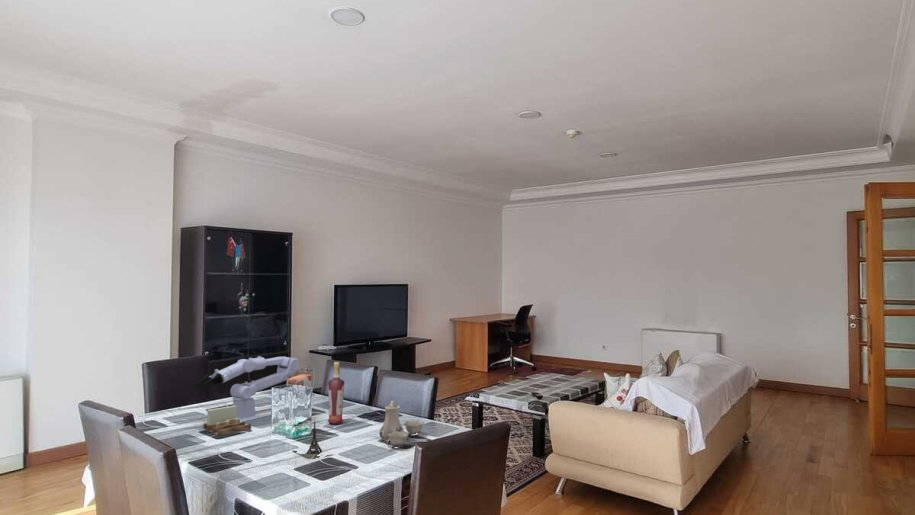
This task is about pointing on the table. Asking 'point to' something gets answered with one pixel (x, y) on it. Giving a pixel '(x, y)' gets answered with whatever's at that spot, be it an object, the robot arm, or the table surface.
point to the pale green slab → (221, 414)
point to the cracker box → (300, 380)
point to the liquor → (335, 396)
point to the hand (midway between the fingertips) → (200, 386)
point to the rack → (227, 428)
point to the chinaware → (397, 427)
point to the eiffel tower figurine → (312, 453)
